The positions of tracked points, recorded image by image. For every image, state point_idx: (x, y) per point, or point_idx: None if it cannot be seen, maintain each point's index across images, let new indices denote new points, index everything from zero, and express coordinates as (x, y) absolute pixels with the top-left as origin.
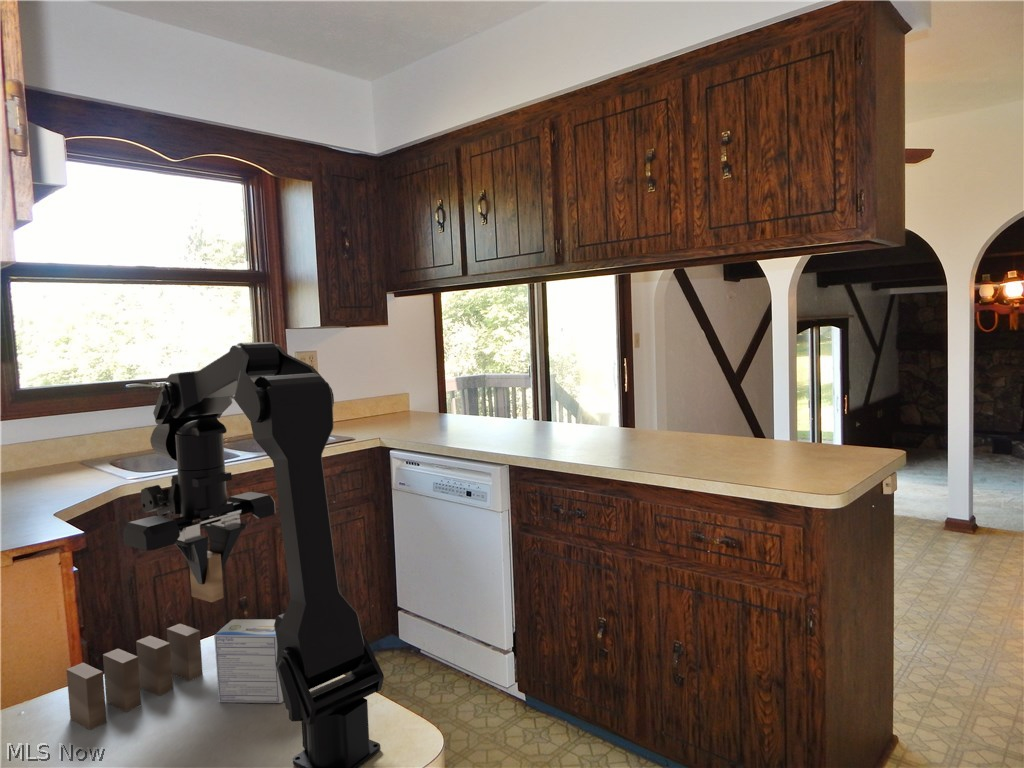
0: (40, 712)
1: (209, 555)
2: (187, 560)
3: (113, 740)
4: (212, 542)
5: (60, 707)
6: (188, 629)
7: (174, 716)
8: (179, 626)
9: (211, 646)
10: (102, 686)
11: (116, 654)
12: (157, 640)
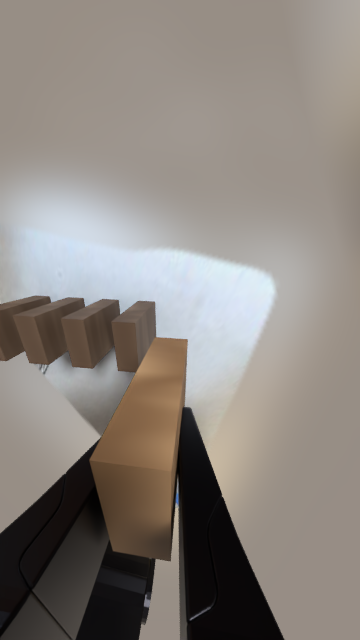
0: (11, 250)
1: (132, 543)
2: (60, 484)
3: (55, 361)
4: (183, 615)
5: (29, 260)
6: (131, 355)
7: (101, 375)
8: (128, 332)
9: (209, 285)
10: (23, 351)
11: (27, 333)
12: (83, 346)
